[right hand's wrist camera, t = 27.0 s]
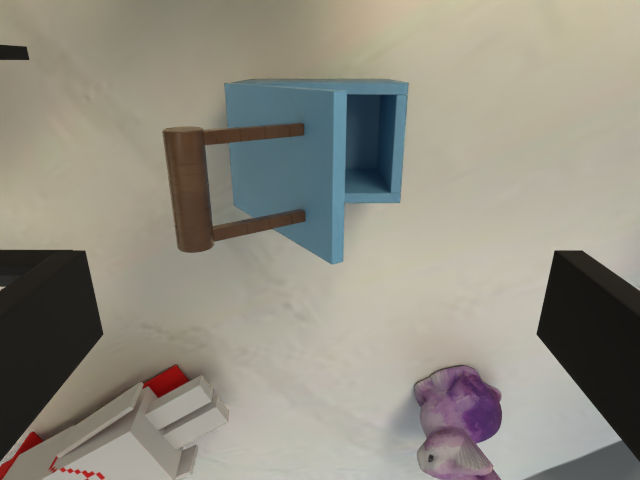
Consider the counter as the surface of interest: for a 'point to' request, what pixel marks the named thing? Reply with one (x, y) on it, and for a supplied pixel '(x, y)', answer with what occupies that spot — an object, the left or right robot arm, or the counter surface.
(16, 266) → the left robot arm
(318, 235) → the lid
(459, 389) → the figurine
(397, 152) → the chest
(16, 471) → the toy
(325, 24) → the counter surface
